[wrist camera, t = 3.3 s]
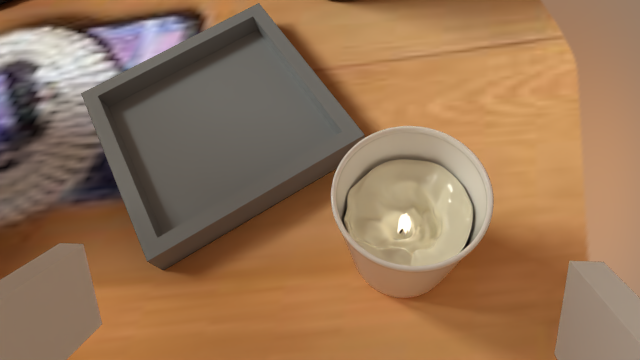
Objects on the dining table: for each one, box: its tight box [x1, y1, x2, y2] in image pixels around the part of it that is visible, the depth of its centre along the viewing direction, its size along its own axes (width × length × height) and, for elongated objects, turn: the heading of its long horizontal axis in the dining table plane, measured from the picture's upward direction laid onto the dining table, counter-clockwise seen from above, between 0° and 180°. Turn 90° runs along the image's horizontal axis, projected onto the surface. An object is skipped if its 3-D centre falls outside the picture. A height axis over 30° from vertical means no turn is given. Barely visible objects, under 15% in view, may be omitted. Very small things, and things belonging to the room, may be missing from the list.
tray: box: [81, 3, 365, 270], centre depth 43 cm, size 22×22×3 cm
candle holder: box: [331, 126, 494, 298], centre depth 31 cm, size 10×10×12 cm
